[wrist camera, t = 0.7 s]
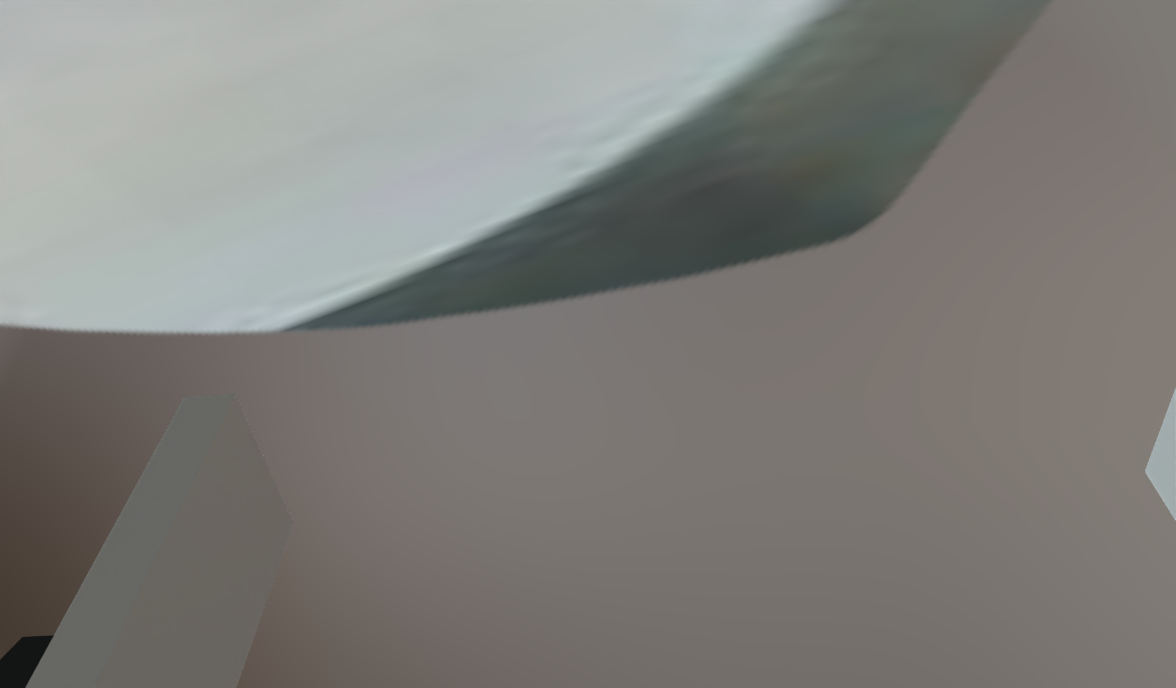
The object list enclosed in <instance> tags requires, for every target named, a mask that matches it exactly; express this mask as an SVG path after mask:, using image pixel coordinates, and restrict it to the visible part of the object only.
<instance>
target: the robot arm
mask: <svg viewBox="0 0 1176 688" xmlns="http://www.w3.org/2000/svg"><path fill="white" fill-rule="evenodd" d="M1145 472H1146V474H1147V476H1148V477H1149V479H1150V480H1151V482H1152V483H1153V485H1154V487H1155V488H1156V490H1157V492H1158V493H1159V495H1160V496H1161V498H1162V500H1163V501H1164V503H1165V504H1166V506H1167V508H1168V509H1169V511H1170V512H1171V514H1172V516H1173V517H1174V519H1175V520H1176V389H1175V391H1174V394H1173V397H1172V400H1171V402H1170V405H1169V408H1168V410H1167V413H1166V416H1165V419H1164V421H1163V424H1162V427H1161V429H1160V432H1159V435H1158V437H1157V440H1156V443H1155V446H1154V448H1153V451H1152V454H1151V457H1150V459H1149V462H1148V464H1147V467H1146V470H1145ZM293 523H294V522H293V520H292V518H291V515H290V513H289V511H288V509H287V507H286V504H285V502H284V500H283V498H282V496H281V493H280V491H279V489H278V487H277V485H276V483H275V480H274V478H273V476H272V474H271V471H270V469H269V467H268V465H267V463H266V461H265V458H264V456H263V454H262V452H261V449H260V447H259V445H258V443H257V441H256V438H255V436H254V434H253V432H252V430H251V427H250V425H249V423H248V421H247V419H246V416H245V414H244V412H243V410H242V407H241V405H240V403H239V401H238V399H237V397H236V394H227V395H213V396H199V397H185V398H183V400H182V402H181V404H180V406H179V407H178V409H177V411H176V413H175V415H174V417H173V418H172V420H171V422H170V424H169V426H168V428H167V430H166V431H165V433H164V435H163V437H162V439H161V440H160V443H159V444H158V446H157V448H156V450H155V451H154V453H153V455H152V457H151V459H150V461H149V462H148V464H147V466H146V468H145V470H144V472H143V474H142V475H141V477H140V479H139V481H138V482H137V484H136V486H135V488H134V490H133V492H132V493H131V495H130V497H129V499H128V501H127V503H126V504H125V506H124V508H123V510H122V512H121V514H120V516H119V517H118V519H117V521H116V523H115V525H114V526H113V528H112V530H111V532H110V534H109V536H108V538H107V539H106V541H105V543H104V545H103V547H102V549H101V550H100V552H99V554H98V556H97V558H96V559H95V561H94V563H93V565H92V567H91V569H90V570H89V572H88V574H87V576H86V578H85V580H84V581H83V583H82V585H81V587H80V589H79V591H78V592H77V594H76V596H75V598H74V600H73V602H72V603H71V605H70V607H69V609H68V611H67V613H66V614H65V616H64V618H63V620H62V622H61V624H60V625H59V627H58V629H57V631H56V633H55V635H53V636H34V637H22V638H21V639H20V640H19V641H18V642H17V643H16V644H15V645H14V646H13V647H12V648H11V649H10V650H9V651H8V652H7V653H6V654H5V655H4V656H3V657H2V658H1V660H0V688H236V686H237V684H238V681H239V678H240V675H241V672H242V669H243V666H244V664H245V661H246V658H247V655H248V652H249V649H250V646H251V644H252V641H253V638H254V635H255V632H256V629H257V626H258V624H259V621H260V618H261V615H262V612H263V609H264V606H265V603H266V601H267V598H268V595H269V592H270V589H271V586H272V583H273V580H274V578H275V575H276V572H277V569H278V566H279V563H280V561H281V558H282V555H283V552H284V549H285V546H286V543H287V540H288V538H289V535H290V532H291V529H292V526H293Z"/></svg>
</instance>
